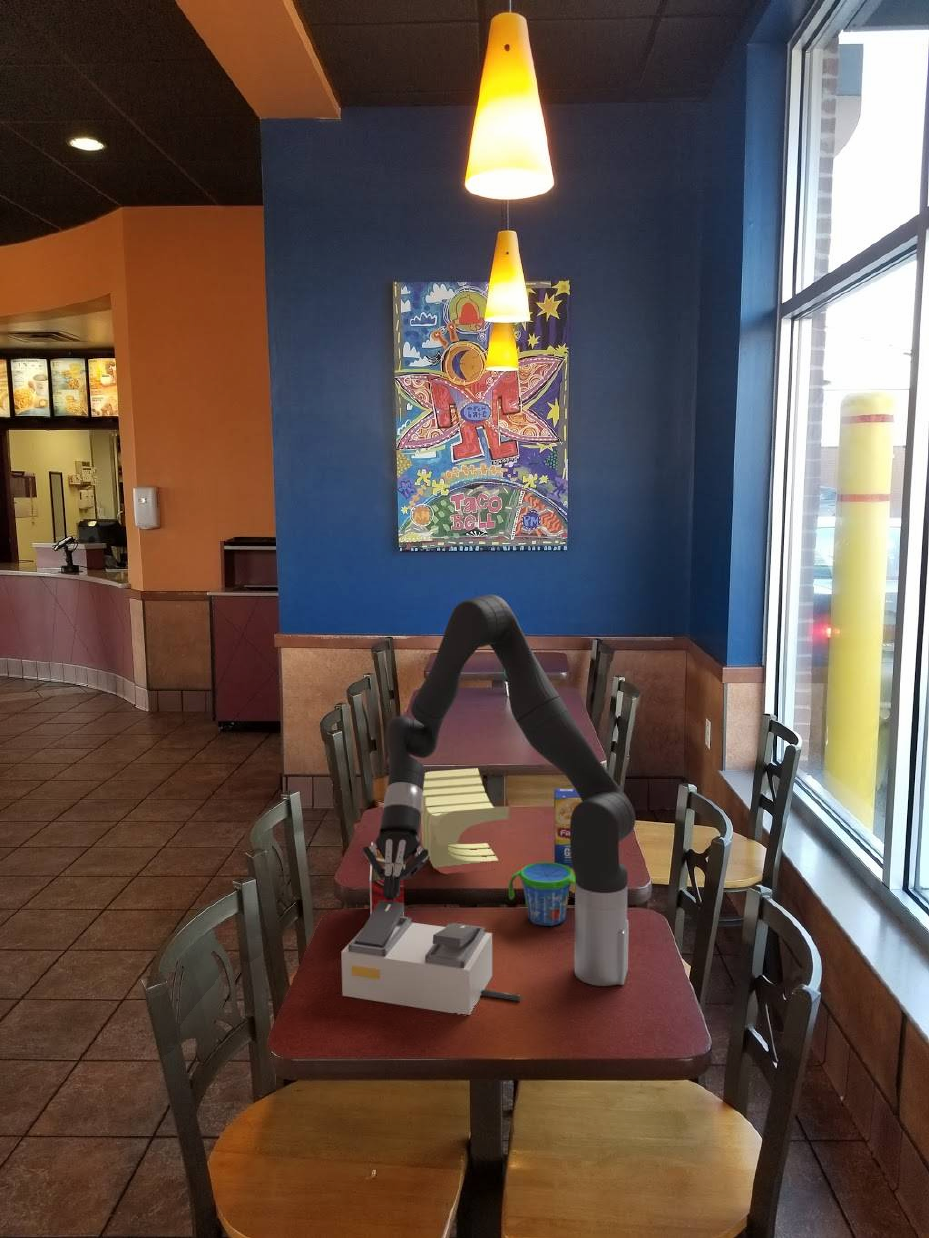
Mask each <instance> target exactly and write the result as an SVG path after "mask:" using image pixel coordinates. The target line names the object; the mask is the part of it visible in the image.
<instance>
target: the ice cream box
mask: <svg viewBox="0 0 929 1238" xmlns="http://www.w3.org/2000/svg"><path fill="white" fill-rule="evenodd" d="M370 843H371V845H370V846H372V845H373V844H375V842H373V841H372V842H370ZM376 859H377V861H378V862H379V864H380V866H381V867H382V868H383V869H385V860H384V859H383V857H382V855H381V854H380V852H379V850H377V857H376ZM369 865H370V867H369V870H370V871H369V900H370V901H369V902H370V903H369V905H370V906H369V907H370V908H369V909H370V912H369V913H370V915H371V914H372V912H373V910H374V908H375V906H376V905H377V903H378V901H379V900H381V901H389V902H397V903H404V904H405V900H404V899H405V896H404V895H405V893H404V888H405V887H404V883H405V882H404V879H403V880H402V881H401V885H400V893H399V896H398V898H395V901H392V900H387V899H386V897H385V896H384V894H383V886H384V878H382V877H381V878H380V877H378V875H377V873H376V872H375V870H374V869H373V867H372V866H371V864H369ZM395 865H396V863H395V864H394V870H395ZM393 877H394V874H393ZM370 915H369V916H370ZM401 916H403V917H405V910H404V911H403V913H402V915H401Z"/></svg>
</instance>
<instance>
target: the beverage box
mask: <svg viewBox="0 0 929 1238" xmlns="http://www.w3.org/2000/svg"><path fill="white" fill-rule="evenodd" d="M553 791H554V793H553V794H554V800H553V803H554V804H553V805H554V806H553V807H554V818H553V819H554V822H553V823H554V824H553V825H554V828H553V829H554V833H553V834H554V835H553V836H554V837H553V838H554V839H553V840H554V841H553V842H554V847H553V848H554V851H553V855H554V856H553V860H554V861H553V863H558V864H562V865H565V866H567V867H568V868H570V869H571V870H572V873H573V875H574V876H575V873H574V870H573V868H572V864H571V848H570V821H571V816H572V812H573V810H574V809H575V807H576V806H577V805H578V804H579V803H581V802H582V800H581V798H580V796H579V794H578V793H577V791H576V789H575V788H554V789H553ZM569 891H571V892H572V893H575V884H574V883H571V884H570V890H569Z"/></svg>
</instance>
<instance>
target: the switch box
mask: <svg viewBox="0 0 929 1238" xmlns="http://www.w3.org/2000/svg"><path fill="white" fill-rule="evenodd" d="M412 921H413V919H412V917H409V916H404V917H403V916H401V917H400V919H399V921H398V923H397V925H396V927H395V929H394V931H393V933H392V935H391V936H390V938H389V940H388V942H387V944H386V945H385V946H384V948H379V947H372V946H365V945H358V944H356V940H357V938H358V937H359V935H360V933H361V931H362V930H363V928H361V930H360V931H359V932H358V933H357V934H356V935H355V936H354V938H353V939H352V940H350V942H349V943H348V944H347V945H346V946H345V947H344V948H343V949H342V951H341V953H340V954H341V984H342V985H341V987H342V988H341V990H342V992H341V993H342V994H341V995H342V996H343V997H351V998H356V999H361V1000H367V1001H374V1002H381V1003H386V1004H392V1005H399V1006H406V1007H411V1008H416V1009H423V1010H430V1011H434V1012H435V1011H436V1012H443V1013H448V1014H454V1013H457V1014H456V1015H460V1014H468V1015H470V1014H471V1015H472V1013H471V1012H473V1011H474V1009H475V1007H476V1006H475V1005H477V1003H478V1002H479V1000H480V999H481V997H480V996H483V997H489V998H490V997H491V998H495V999H496V998H497V999H502V998H503V1000H508V999H509V1001H517V1002H519V1001H521V1000H522V995H520V994H517V993H509V992H503V991H496V990H488V989H486V988H487V986H488V984H489V982H490V980H491V978H492V977H493V933H492V932H486V926H477V925H476V926H475V925H469V924H463V923H457V922H456V923H455V922H448V923H447V925H446V926H440V925H432V924H426V923H425V924H424V923H417V922H412ZM452 924H458V925H465V926H473V927H478V934H477V936H476V937H475V938H473V939H472V940H470V941H469V942H467V943H466V944H464V945H463V946H461V947H453V946H446V945H439V944H433V935H434V934H436V933H438V932H439V931H441V930H443V929H445V928H446V927H448V926H450V925H452ZM474 1006H475V1007H474ZM473 1008H474V1009H473ZM472 1010H473V1011H472ZM471 1015H470V1016H471Z"/></svg>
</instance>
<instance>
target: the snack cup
mask: <svg viewBox="0 0 929 1238" xmlns="http://www.w3.org/2000/svg"><path fill="white" fill-rule="evenodd" d="M516 877H519V879H520V880H521V884H522V886H523V892H524V899H525V905H526V911H527V912H526V913H527V916H528V919H529V920H530V921H531V922H532V923H533V924H534V925H538V926H542V927H543V926H550V927H553V926H556V925H559V924H561V923H562V922H564V921H565V919H566V915H567V908H568V903H569V898H568V897H569V890H570V884H571V883H574V884H575V876H574V875H573V873H572V870H571V869H570V868H568V867H567V866H565V865H562V864H558V863H554V862H550V861H547V862H546V861H544V862H534V863H531V864H528V865H526V866H523V867H522V869H519V870H517V871H516V872H515V873H514V874H513V875H512V877H510V880H509V884H508V897H509V900H512V901H513V899H514V898H515V895H516V894H515V891H514V881H515V880H516Z"/></svg>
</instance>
